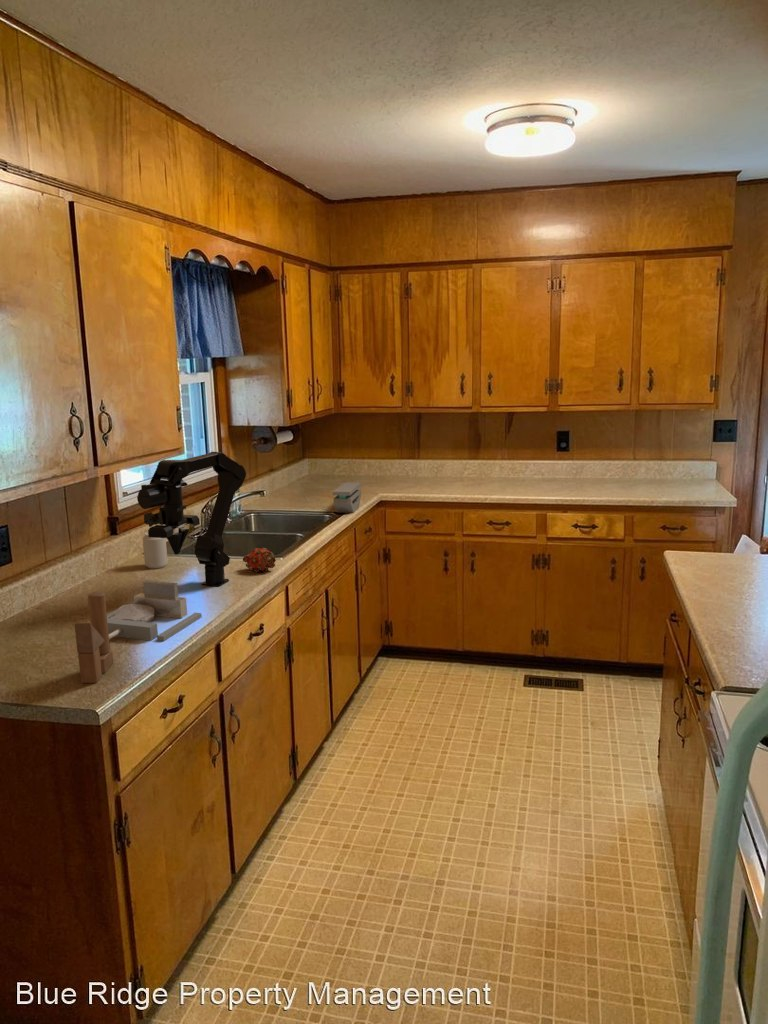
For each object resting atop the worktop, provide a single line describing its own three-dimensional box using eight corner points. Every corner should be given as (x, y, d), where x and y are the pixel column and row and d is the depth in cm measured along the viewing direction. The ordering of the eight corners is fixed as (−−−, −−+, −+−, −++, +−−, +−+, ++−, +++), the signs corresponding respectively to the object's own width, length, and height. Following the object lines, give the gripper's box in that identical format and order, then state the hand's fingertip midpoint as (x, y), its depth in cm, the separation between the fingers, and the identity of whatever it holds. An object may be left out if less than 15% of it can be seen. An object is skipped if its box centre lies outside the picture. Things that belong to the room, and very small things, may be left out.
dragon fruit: (277, 577, 246) (246, 579, 250) (283, 557, 252) (252, 560, 256) (266, 561, 240) (234, 564, 245) (273, 541, 246) (242, 544, 250)
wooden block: (80, 683, 165) (72, 606, 161) (98, 663, 175) (91, 591, 172) (97, 683, 165) (88, 606, 161) (114, 663, 175) (107, 591, 172)
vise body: (125, 609, 213) (123, 597, 212) (201, 617, 205) (200, 605, 205) (53, 647, 186) (51, 633, 185) (138, 657, 178) (136, 643, 178)
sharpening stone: (350, 516, 330) (349, 492, 328) (333, 515, 331) (332, 491, 329) (361, 504, 354) (361, 482, 352) (345, 504, 356) (345, 482, 353)
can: (149, 563, 260) (146, 530, 257) (170, 563, 260) (168, 529, 257) (141, 569, 253) (138, 535, 250) (163, 569, 252) (160, 535, 250)
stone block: (156, 621, 208) (120, 615, 208) (158, 605, 207) (122, 599, 207) (145, 638, 197) (106, 632, 196) (146, 622, 196) (108, 616, 195)
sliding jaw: (141, 610, 212) (138, 579, 210) (187, 614, 207) (185, 584, 206) (135, 613, 209) (132, 583, 207) (181, 618, 205) (178, 587, 203)
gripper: (167, 495, 229) (171, 544, 233) (129, 508, 212) (134, 560, 215) (198, 497, 226) (202, 547, 229) (163, 509, 209) (167, 563, 212)
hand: (176, 554), depth 221 cm, fingers closed
